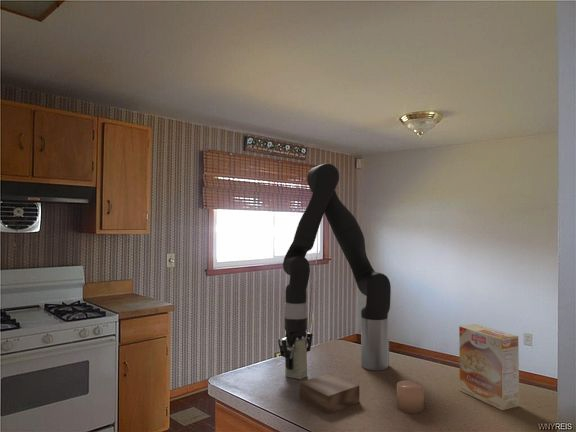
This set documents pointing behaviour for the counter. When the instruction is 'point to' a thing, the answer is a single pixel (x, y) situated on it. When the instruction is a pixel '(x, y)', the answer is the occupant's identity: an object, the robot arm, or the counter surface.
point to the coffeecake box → (489, 365)
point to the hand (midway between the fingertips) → (295, 367)
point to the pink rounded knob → (410, 396)
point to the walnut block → (329, 392)
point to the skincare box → (298, 361)
